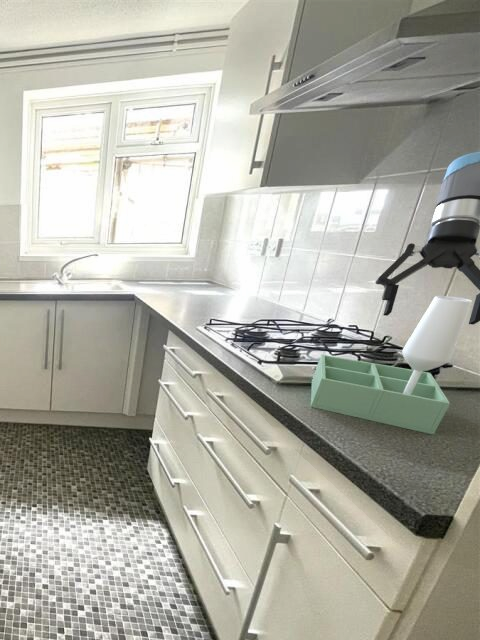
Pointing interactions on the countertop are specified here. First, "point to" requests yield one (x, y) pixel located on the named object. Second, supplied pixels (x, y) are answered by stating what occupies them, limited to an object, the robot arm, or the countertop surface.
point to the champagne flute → (435, 336)
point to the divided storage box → (378, 394)
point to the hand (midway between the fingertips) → (428, 318)
